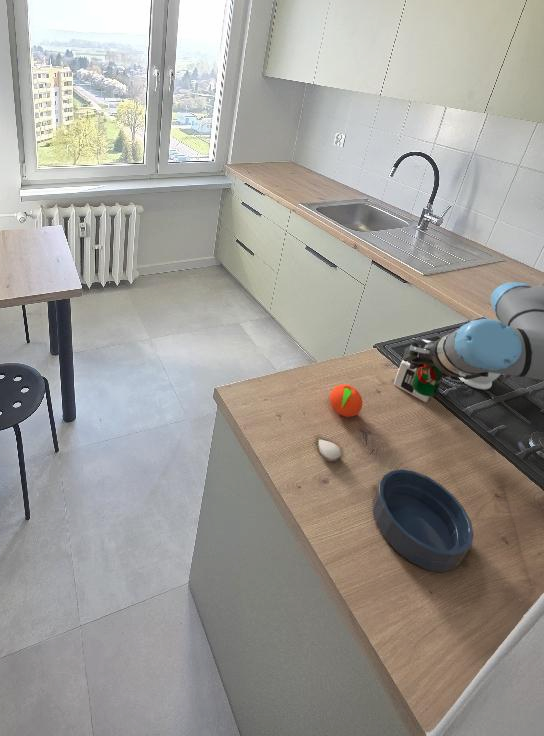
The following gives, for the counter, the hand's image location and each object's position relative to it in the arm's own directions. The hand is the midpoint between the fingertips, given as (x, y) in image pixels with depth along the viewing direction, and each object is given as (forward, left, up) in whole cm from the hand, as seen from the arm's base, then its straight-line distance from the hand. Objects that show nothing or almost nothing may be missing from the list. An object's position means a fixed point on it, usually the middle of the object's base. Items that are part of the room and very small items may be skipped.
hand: (426, 367), depth 97 cm
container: (-1, -6, -11) cm, 13 cm away
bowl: (+1, +33, -11) cm, 35 cm away
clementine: (+15, +12, -11) cm, 22 cm away
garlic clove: (+17, +25, -11) cm, 32 cm away
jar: (-15, -17, -11) cm, 25 cm away
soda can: (0, +4, -4) cm, 5 cm away
